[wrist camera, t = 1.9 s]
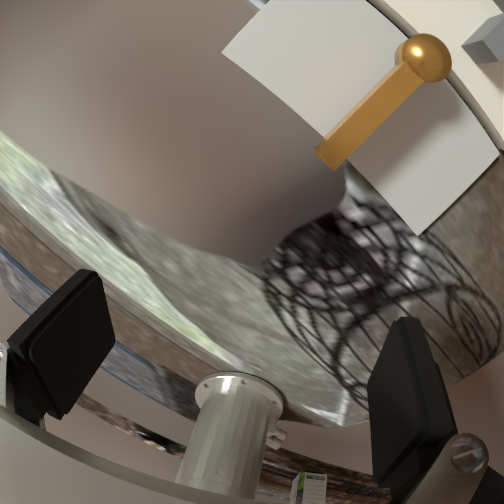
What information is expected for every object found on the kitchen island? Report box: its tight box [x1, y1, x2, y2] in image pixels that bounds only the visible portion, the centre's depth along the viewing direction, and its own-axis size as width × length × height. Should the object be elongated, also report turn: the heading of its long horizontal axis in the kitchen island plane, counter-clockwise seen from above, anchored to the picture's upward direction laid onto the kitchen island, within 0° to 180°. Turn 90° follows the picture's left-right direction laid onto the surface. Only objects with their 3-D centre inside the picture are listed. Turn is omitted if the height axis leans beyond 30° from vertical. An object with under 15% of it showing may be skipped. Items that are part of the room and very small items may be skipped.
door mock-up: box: [222, 0, 504, 236], centre depth 18 cm, size 24×26×6 cm
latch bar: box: [314, 33, 452, 171], centre depth 20 cm, size 13×4×3 cm, turn 139°
